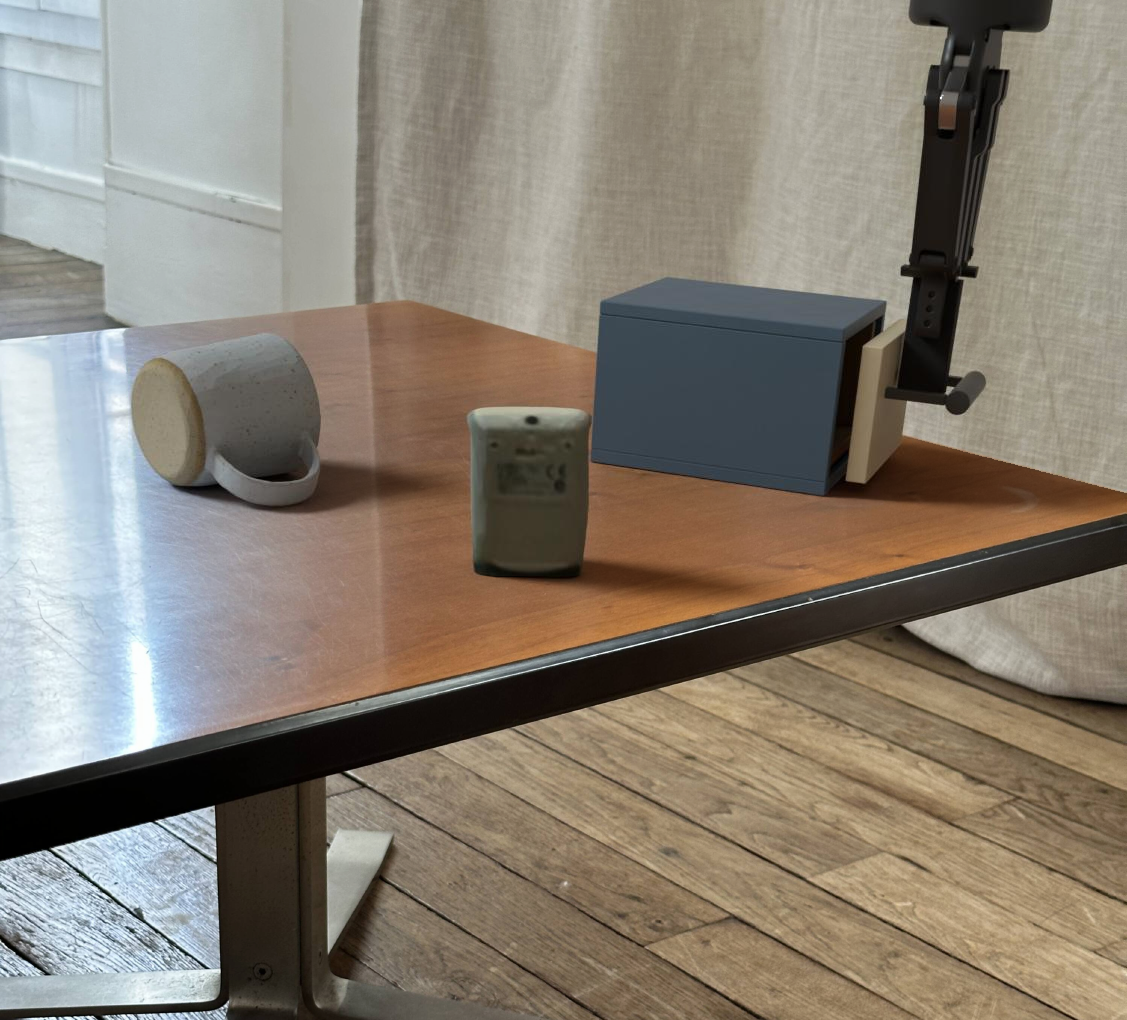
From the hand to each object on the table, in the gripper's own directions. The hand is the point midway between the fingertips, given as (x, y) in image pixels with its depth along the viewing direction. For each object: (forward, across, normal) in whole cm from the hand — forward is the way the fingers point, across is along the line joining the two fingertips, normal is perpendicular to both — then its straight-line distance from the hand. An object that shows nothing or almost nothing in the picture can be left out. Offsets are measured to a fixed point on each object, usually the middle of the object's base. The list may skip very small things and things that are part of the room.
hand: (921, 390), depth 95 cm
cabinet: (+6, 0, -11) cm, 12 cm away
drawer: (+5, 0, -6) cm, 8 cm away
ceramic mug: (+6, +22, -33) cm, 40 cm away
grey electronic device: (+6, +28, -14) cm, 32 cm away
